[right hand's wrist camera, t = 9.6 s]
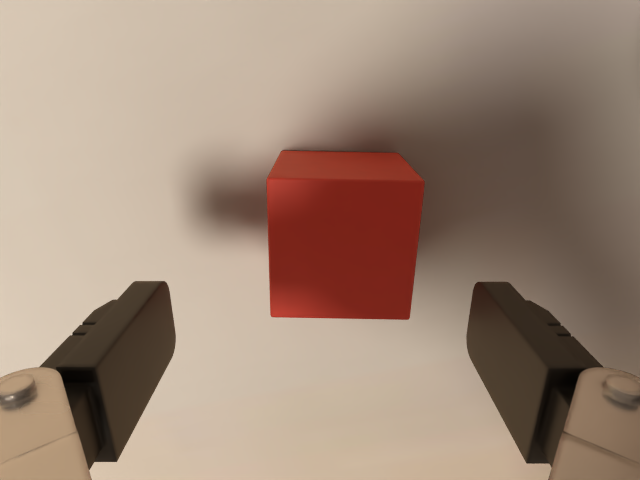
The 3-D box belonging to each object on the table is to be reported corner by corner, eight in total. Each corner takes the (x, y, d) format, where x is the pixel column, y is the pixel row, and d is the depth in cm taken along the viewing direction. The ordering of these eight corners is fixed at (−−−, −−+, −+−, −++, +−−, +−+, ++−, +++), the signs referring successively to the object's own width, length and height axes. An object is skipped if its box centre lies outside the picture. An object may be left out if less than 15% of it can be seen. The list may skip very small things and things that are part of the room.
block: (399, 152, 17) (425, 181, 13) (389, 262, 19) (409, 320, 15) (280, 150, 17) (265, 177, 13) (282, 260, 19) (270, 318, 15)
